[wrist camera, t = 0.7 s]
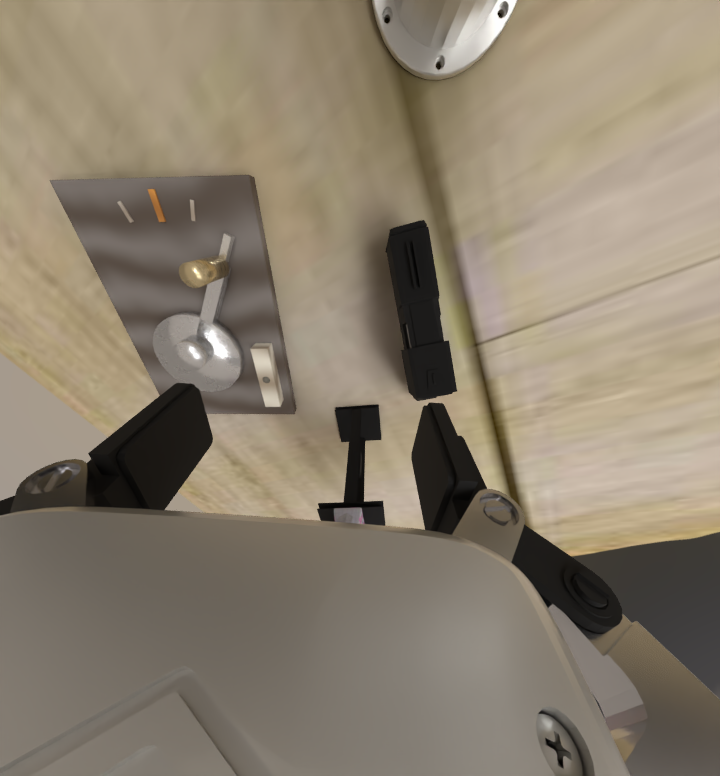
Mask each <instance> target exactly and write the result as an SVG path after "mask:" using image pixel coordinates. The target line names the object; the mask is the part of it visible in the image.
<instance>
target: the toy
mask: <svg viewBox="0 0 720 776" xmlns="http://www.w3.org/2000/svg"><path fill="white" fill-rule="evenodd" d="M386 252H387V256H388V261H389V267H390V272H391V278H392V283H393V289H394V294H395V300H396V305H397V311H398V316H399V321H400V327H401V332H402V338H403V343H404V349H405V350H401V351H402V357H403V362H404V368H405V373H406V378H407V384H408V389H409V393H410V394H411V395H413V397H414V398H415V399H416V400H417V401H420V400H426V399H432V398H436V397H437V396H443V395H448V394H452V393H453V392H456V391H457V388H456V382H455V376H454V370H453V364H452V358H451V352H450V345H449V341H444V339H443V332H442V326H441V320H440V315H441V313H440V307H439V301H438V299H439V290H438V284H437V278H436V272H435V266H434V260H433V254H432V247H431V241H430V235H429V229H428V227H427V224H426V223H425V221H424V220H422V221H417V222H413V223H410V224H406V225H403V226H399V227H395V228H393V229H390V233H389V238H388V243H387V247H386Z"/></svg>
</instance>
